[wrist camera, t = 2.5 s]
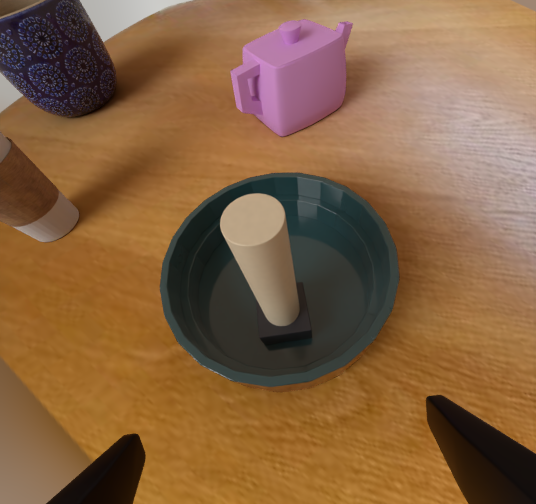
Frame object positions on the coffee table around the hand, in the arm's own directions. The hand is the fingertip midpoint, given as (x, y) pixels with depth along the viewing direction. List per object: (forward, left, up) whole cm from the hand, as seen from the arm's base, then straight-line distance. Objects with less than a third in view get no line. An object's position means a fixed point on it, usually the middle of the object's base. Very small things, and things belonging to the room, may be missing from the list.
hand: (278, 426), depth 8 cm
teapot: (+32, +23, -14) cm, 42 cm away
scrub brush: (+5, +5, -13) cm, 15 cm away
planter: (+17, +62, -14) cm, 66 cm away
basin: (+8, +8, -13) cm, 17 cm away
